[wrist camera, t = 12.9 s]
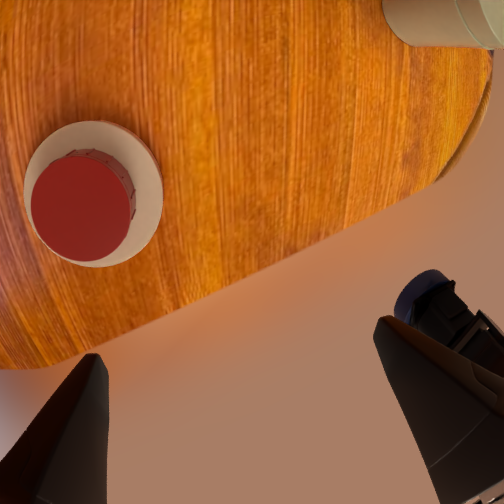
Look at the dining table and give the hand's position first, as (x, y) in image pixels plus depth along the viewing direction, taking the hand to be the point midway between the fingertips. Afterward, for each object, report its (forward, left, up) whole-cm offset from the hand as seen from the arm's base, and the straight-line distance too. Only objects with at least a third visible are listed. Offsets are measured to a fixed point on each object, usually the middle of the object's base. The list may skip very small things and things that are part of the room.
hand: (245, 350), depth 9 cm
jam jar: (+10, -17, -11) cm, 22 cm away
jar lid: (+4, +6, -9) cm, 11 cm away
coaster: (+4, +6, -11) cm, 13 cm away
